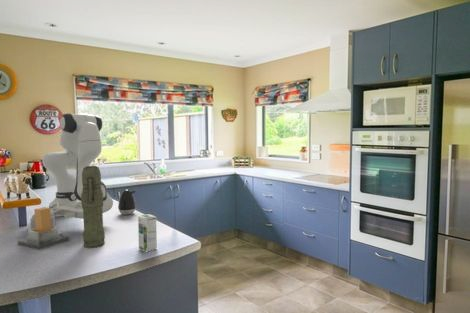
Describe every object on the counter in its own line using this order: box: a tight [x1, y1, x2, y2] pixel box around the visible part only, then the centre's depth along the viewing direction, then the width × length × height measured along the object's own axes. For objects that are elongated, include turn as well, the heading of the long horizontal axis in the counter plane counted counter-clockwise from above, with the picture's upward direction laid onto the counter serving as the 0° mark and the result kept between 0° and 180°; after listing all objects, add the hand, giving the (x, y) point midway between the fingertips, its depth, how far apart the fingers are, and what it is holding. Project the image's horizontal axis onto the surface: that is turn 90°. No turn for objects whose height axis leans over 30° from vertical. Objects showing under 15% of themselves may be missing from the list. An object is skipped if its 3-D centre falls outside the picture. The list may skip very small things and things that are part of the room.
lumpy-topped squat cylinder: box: [30, 213, 56, 230], centre depth 168 cm, size 10×13×9 cm
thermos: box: [81, 165, 106, 249], centre depth 143 cm, size 9×12×35 cm
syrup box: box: [137, 213, 158, 253], centre depth 137 cm, size 6×6×14 cm
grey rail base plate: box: [17, 227, 70, 250], centre depth 148 cm, size 14×16×6 cm
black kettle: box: [117, 189, 137, 216], centre depth 200 cm, size 10×10×15 cm
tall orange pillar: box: [34, 206, 51, 232], centre depth 148 cm, size 4×4×14 cm
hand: (58, 215), depth 155 cm, fingers open, 8 cm apart
